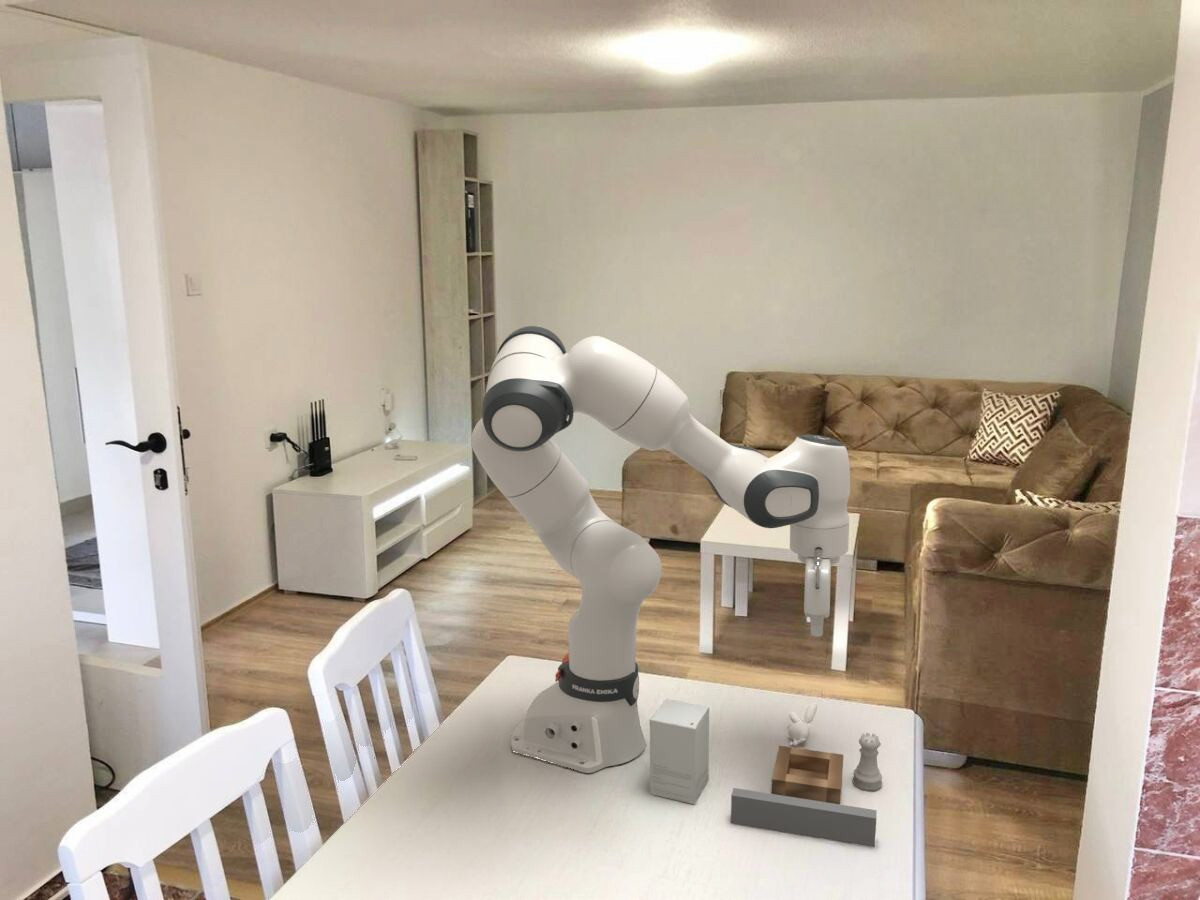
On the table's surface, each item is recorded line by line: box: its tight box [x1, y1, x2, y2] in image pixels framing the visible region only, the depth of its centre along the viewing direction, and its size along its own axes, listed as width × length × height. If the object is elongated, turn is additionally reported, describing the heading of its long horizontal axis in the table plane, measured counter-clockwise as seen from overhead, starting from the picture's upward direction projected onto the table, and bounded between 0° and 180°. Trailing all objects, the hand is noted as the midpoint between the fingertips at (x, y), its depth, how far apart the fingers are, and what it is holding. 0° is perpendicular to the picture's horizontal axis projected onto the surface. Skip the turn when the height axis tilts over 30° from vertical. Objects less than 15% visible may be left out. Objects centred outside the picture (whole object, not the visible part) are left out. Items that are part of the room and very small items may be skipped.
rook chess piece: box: [852, 732, 883, 792], centre depth 143 cm, size 4×4×8 cm
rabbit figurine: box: [787, 701, 818, 747], centre depth 158 cm, size 6×4×8 cm
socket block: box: [770, 745, 844, 805], centre depth 142 cm, size 10×10×4 cm
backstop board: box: [730, 787, 878, 848], centre depth 132 cm, size 20×2×4 cm, turn 73°
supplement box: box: [649, 698, 710, 805], centre depth 142 cm, size 7×7×13 cm
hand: (817, 622), depth 146 cm, fingers open, 8 cm apart
